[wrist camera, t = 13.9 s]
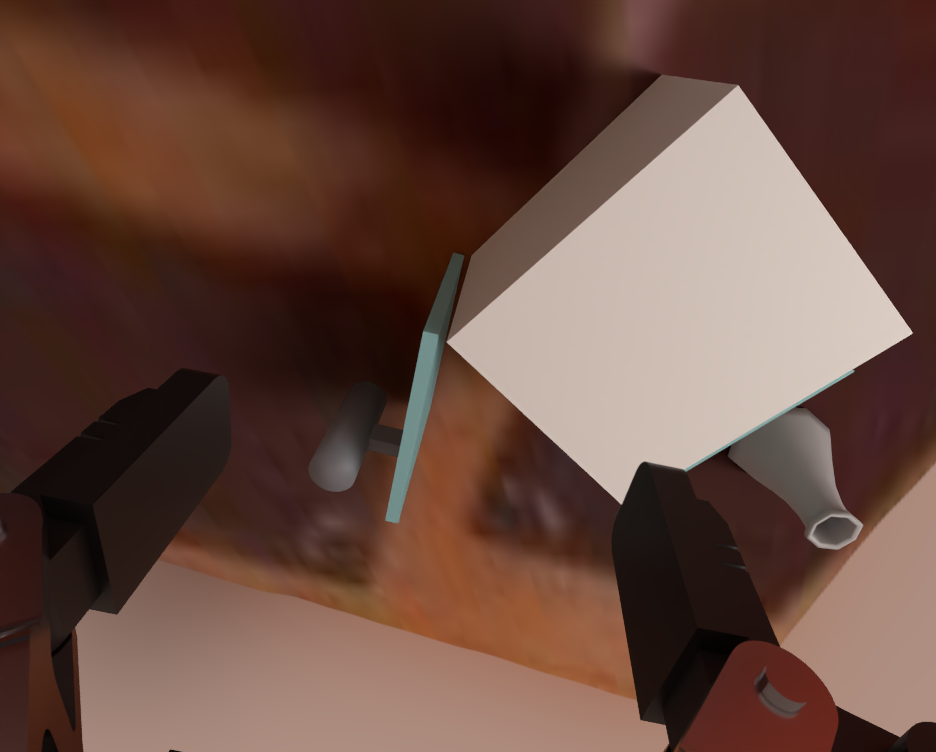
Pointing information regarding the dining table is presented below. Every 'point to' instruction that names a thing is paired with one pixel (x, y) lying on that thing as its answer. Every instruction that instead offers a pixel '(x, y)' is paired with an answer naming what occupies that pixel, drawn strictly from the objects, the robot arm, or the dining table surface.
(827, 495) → the flask
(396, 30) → the dining table surface
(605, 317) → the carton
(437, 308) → the flap
